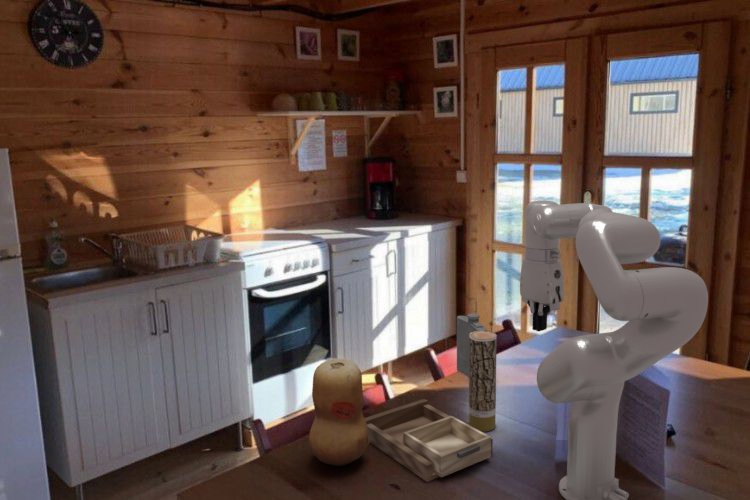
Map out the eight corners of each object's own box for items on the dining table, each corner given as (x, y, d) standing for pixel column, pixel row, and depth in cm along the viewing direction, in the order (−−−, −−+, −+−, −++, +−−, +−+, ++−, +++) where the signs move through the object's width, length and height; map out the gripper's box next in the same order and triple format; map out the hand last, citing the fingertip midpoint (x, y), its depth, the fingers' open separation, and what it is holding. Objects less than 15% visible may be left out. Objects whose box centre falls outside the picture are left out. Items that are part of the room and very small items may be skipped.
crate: (493, 458, 153) (494, 438, 152) (444, 479, 144) (444, 458, 143) (451, 434, 165) (451, 415, 164) (403, 452, 157) (403, 432, 156)
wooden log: (495, 433, 167) (496, 340, 162) (468, 431, 168) (468, 338, 163) (495, 421, 173) (496, 331, 168) (469, 420, 175) (470, 330, 170)
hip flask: (455, 368, 210) (455, 308, 206) (466, 366, 212) (466, 307, 208) (479, 387, 196) (479, 323, 192) (491, 385, 197) (491, 321, 193)
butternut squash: (316, 481, 147) (311, 376, 142) (306, 453, 160) (301, 355, 155) (375, 471, 150) (373, 368, 145) (361, 444, 163) (358, 348, 158)
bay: (492, 454, 157) (492, 435, 156) (427, 482, 146) (426, 461, 145) (424, 415, 178) (424, 398, 177) (362, 437, 167) (362, 419, 166)
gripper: (578, 257, 149) (575, 334, 152) (528, 247, 161) (526, 319, 165) (556, 261, 145) (553, 341, 148) (506, 251, 157) (505, 325, 160)
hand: (539, 329), depth 156 cm, fingers closed
